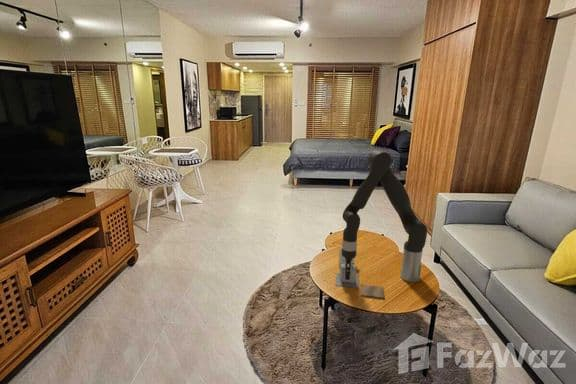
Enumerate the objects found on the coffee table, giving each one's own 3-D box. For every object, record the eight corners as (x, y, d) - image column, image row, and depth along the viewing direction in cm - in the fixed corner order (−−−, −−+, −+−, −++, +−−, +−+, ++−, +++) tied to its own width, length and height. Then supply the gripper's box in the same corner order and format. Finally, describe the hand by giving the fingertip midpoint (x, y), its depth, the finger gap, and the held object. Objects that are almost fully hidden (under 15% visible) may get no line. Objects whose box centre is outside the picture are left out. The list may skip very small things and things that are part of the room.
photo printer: (350, 259, 187) (351, 241, 184) (355, 262, 184) (356, 243, 180) (337, 264, 182) (338, 245, 178) (342, 267, 178) (343, 248, 175)
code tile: (358, 275, 170) (358, 275, 170) (358, 288, 159) (358, 288, 159) (336, 273, 173) (336, 273, 173) (335, 285, 161) (335, 285, 161)
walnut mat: (382, 288, 159) (382, 287, 159) (384, 298, 150) (384, 297, 150) (360, 285, 161) (360, 284, 161) (361, 296, 153) (361, 294, 152)
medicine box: (353, 277, 168) (354, 263, 165) (355, 282, 164) (356, 267, 161) (339, 278, 168) (339, 263, 165) (340, 282, 163) (341, 268, 161)
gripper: (356, 254, 153) (354, 283, 157) (356, 242, 166) (354, 269, 171) (341, 253, 154) (339, 281, 159) (342, 240, 168) (341, 267, 172)
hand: (347, 275), depth 165 cm, fingers open, 8 cm apart
